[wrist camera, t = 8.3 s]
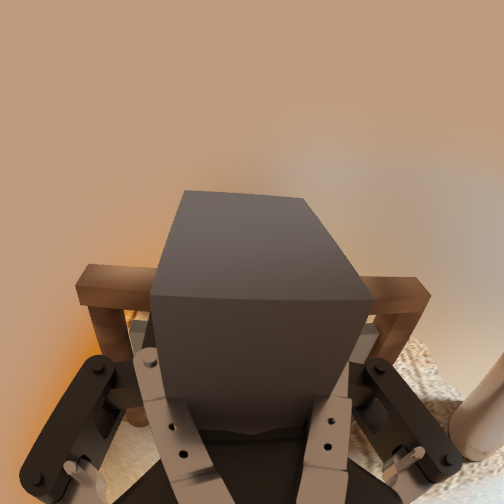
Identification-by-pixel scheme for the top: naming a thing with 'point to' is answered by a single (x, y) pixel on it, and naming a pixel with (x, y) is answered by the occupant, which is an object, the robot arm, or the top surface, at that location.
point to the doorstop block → (253, 310)
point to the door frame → (137, 298)
